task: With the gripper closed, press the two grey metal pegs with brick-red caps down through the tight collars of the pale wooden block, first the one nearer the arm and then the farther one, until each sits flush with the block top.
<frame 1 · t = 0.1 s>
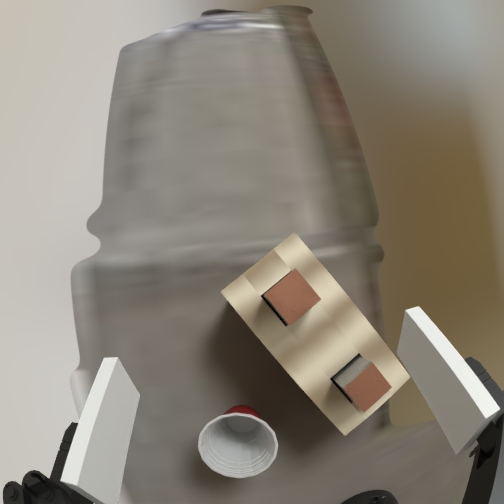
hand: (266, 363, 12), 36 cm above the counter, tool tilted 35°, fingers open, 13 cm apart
plastic cup: (243, 418, 44), on the counter
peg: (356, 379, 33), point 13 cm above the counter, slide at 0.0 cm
collar block: (308, 333, 46), on the counter
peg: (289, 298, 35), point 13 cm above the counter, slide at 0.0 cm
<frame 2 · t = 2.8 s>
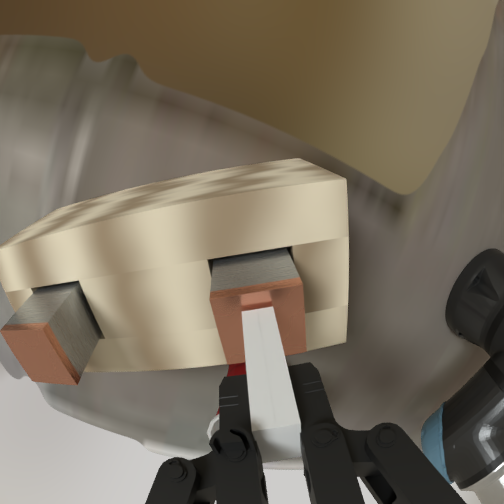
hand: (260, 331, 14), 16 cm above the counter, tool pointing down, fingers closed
plastic cup: (251, 359, 36), on the counter
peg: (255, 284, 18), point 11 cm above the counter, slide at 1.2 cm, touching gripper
collar block: (177, 238, 29), on the counter
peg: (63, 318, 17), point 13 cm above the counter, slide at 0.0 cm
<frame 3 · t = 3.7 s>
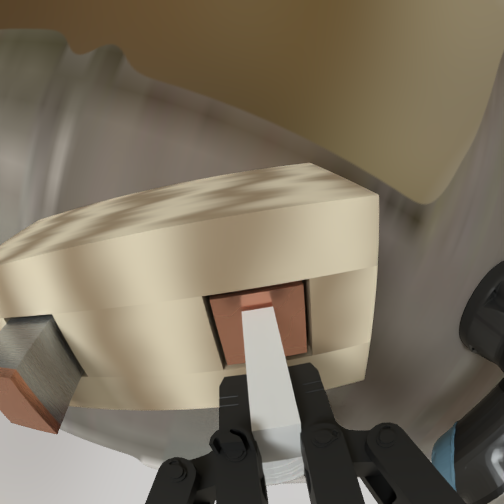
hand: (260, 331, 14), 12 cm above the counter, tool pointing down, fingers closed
plastic cup: (254, 381, 33), on the counter
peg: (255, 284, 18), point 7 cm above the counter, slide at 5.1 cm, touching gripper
collar block: (169, 254, 25), on the counter
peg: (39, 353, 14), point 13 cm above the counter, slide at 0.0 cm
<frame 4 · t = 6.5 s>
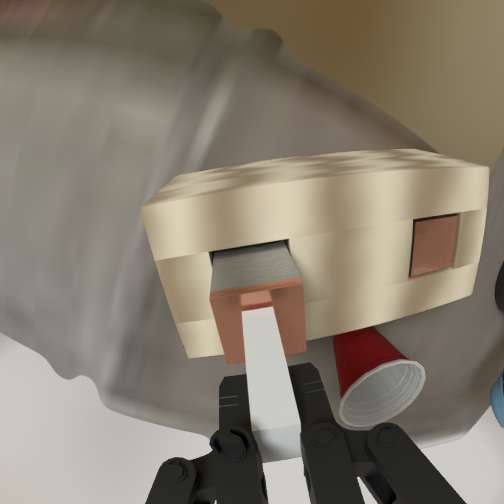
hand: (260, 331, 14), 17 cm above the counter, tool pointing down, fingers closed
plastic cup: (351, 334, 37), on the counter
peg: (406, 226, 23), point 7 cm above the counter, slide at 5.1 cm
collar block: (311, 212, 30), on the counter
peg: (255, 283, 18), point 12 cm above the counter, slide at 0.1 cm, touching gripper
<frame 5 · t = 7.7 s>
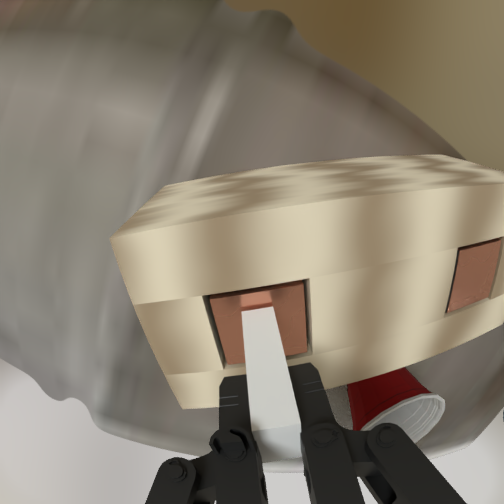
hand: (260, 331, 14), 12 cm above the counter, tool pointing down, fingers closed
plastic cup: (364, 358, 33), on the counter
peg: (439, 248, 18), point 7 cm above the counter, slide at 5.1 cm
collar block: (326, 228, 25), on the counter
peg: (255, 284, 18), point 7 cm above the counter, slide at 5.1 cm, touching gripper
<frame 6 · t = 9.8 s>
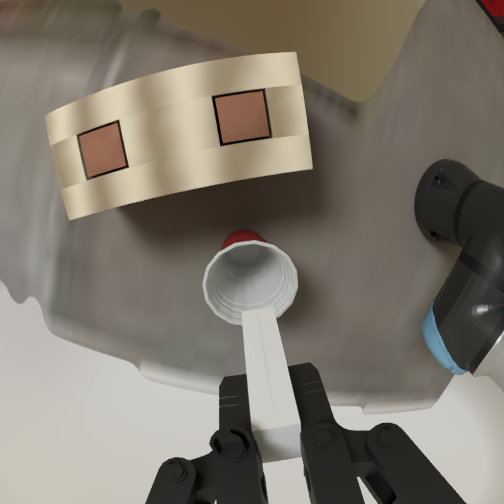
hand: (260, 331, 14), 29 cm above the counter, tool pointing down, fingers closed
plastic cup: (242, 245, 43), on the counter
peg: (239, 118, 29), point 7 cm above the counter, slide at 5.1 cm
collar block: (183, 130, 35), on the counter
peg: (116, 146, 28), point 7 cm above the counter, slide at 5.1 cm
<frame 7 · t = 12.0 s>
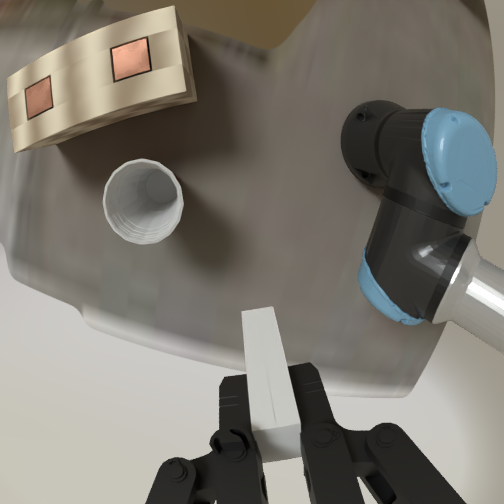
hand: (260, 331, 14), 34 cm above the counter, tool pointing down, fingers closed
plastic cup: (161, 184, 44), on the counter
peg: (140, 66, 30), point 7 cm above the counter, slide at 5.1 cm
collar block: (113, 87, 37), on the counter
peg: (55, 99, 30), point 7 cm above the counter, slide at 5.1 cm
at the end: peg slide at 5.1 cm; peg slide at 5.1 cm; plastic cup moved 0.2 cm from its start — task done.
